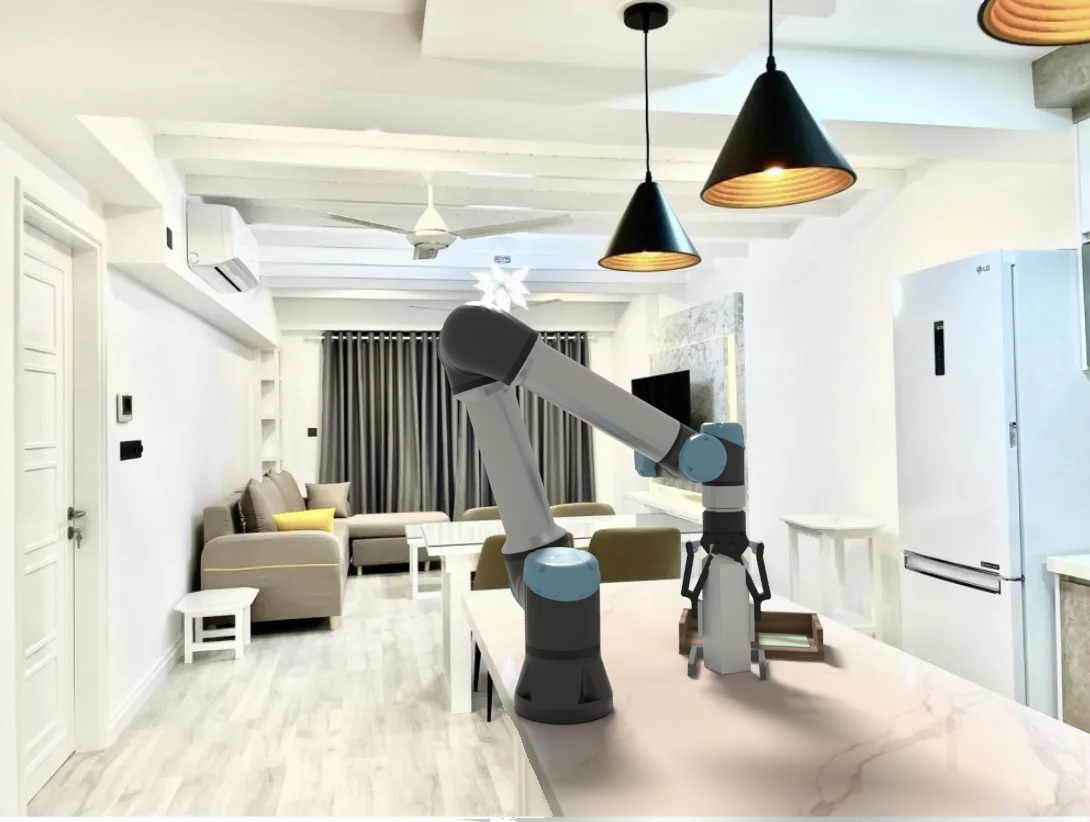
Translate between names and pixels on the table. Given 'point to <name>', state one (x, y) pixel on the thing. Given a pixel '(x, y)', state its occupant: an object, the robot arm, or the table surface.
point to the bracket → (755, 656)
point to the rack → (769, 635)
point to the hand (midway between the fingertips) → (726, 638)
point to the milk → (726, 615)
